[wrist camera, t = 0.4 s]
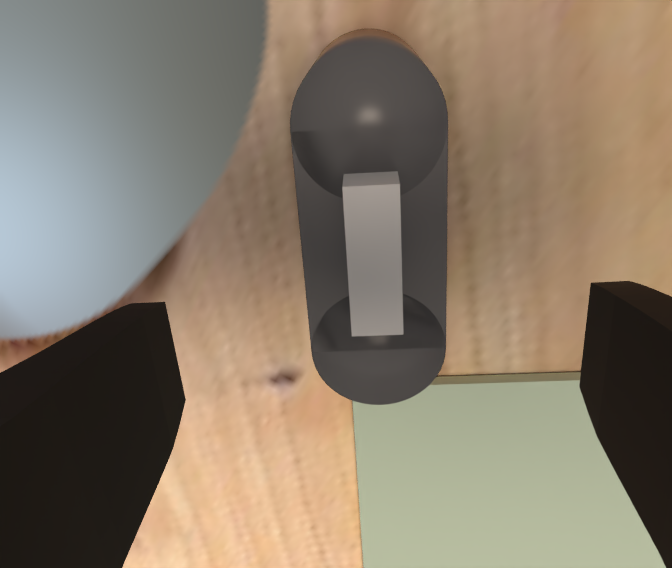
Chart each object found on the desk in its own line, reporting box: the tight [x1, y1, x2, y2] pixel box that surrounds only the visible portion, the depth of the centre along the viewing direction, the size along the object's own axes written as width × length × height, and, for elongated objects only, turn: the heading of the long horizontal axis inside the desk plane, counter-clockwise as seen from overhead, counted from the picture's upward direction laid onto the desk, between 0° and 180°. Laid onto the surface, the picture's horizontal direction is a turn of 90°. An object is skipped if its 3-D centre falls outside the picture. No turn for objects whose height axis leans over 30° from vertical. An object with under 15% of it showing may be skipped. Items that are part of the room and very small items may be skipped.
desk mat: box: [352, 372, 666, 568], centre depth 25 cm, size 16×16×1 cm
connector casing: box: [290, 29, 448, 405], centre depth 16 cm, size 3×9×6 cm, turn 4°
